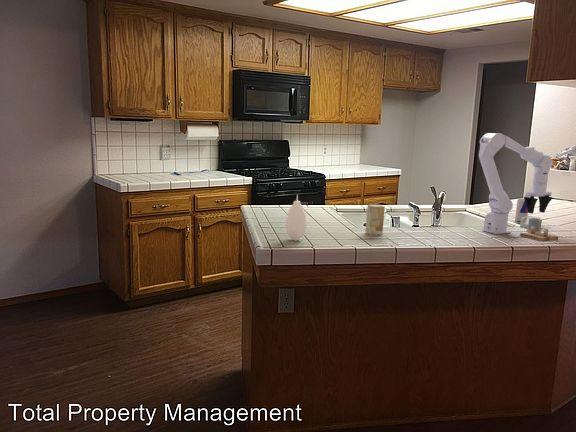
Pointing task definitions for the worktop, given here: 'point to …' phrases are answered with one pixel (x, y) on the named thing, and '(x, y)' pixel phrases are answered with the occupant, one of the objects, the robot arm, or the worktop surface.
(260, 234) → the worktop surface
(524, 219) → the feeder chute
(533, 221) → the sleeve
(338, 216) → the worktop surface
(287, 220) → the sauce bottle
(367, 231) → the skincare box
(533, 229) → the pin block
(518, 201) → the energy drink
